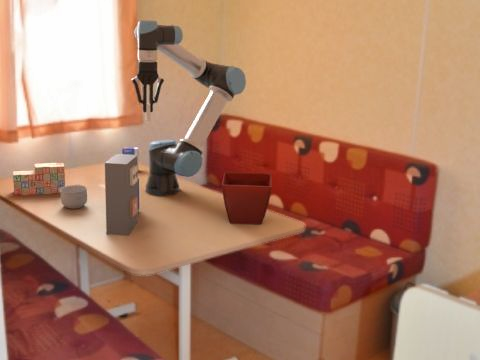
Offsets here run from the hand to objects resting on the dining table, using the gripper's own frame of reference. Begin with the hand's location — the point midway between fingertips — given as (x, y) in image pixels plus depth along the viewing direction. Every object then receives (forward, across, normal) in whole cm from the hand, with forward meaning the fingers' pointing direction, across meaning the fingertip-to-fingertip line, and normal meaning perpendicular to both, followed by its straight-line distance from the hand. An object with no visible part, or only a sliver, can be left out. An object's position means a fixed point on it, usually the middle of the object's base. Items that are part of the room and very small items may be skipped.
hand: (147, 120), depth 258 cm
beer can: (+37, -9, -6) cm, 38 cm away
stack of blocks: (+37, -43, +29) cm, 63 cm away
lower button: (+30, -13, -24) cm, 41 cm away
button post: (+36, -14, -24) cm, 46 cm away
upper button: (+18, -13, -24) cm, 33 cm away
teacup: (+37, -29, +7) cm, 47 cm away
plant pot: (+37, +35, -24) cm, 56 cm away
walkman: (+37, +1, +56) cm, 67 cm away
